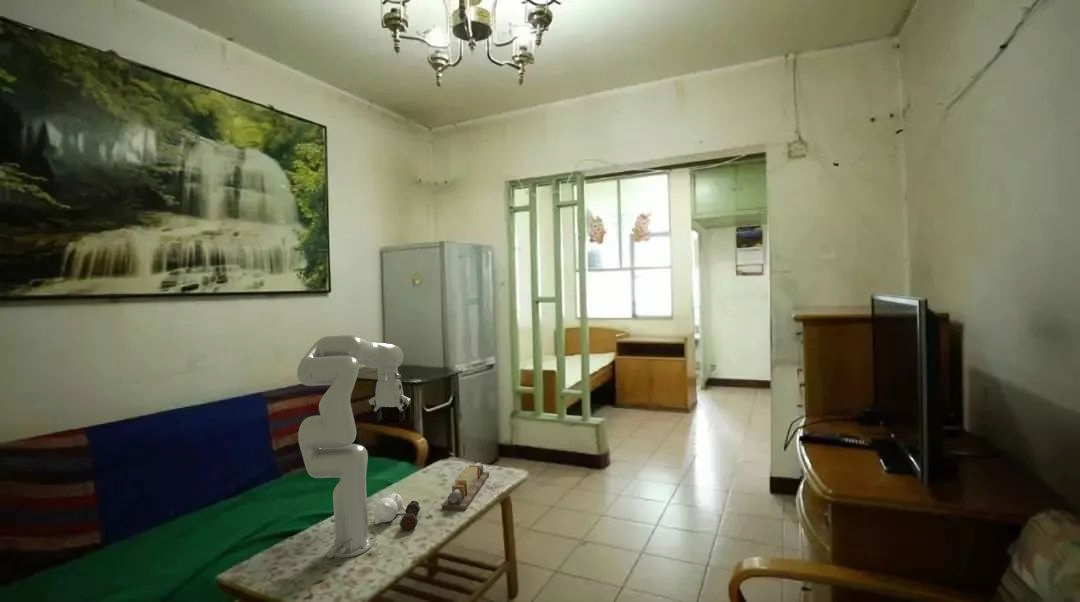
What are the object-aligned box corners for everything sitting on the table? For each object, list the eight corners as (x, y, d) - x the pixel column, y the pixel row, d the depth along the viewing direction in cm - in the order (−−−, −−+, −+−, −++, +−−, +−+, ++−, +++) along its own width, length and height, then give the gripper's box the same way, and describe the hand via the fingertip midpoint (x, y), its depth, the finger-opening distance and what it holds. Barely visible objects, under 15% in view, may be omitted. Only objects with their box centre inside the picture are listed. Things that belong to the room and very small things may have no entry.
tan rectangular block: (477, 480, 181) (477, 466, 180) (467, 495, 168) (466, 480, 168) (467, 480, 181) (466, 466, 181) (455, 494, 168) (455, 480, 168)
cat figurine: (393, 483, 162) (376, 497, 151) (417, 500, 161) (402, 515, 149) (382, 503, 163) (364, 519, 151) (406, 520, 161) (390, 537, 150)
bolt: (416, 514, 162) (411, 535, 147) (404, 509, 161) (397, 529, 146) (424, 499, 162) (419, 518, 147) (411, 494, 162) (405, 512, 147)
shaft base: (465, 510, 159) (465, 492, 159) (441, 509, 161) (440, 492, 160) (489, 475, 189) (488, 461, 189) (468, 475, 190) (467, 460, 190)
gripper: (412, 375, 179) (415, 417, 179) (372, 376, 182) (375, 418, 182) (404, 378, 172) (406, 423, 172) (362, 379, 175) (365, 423, 175)
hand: (390, 420), depth 177 cm, fingers open, 9 cm apart
